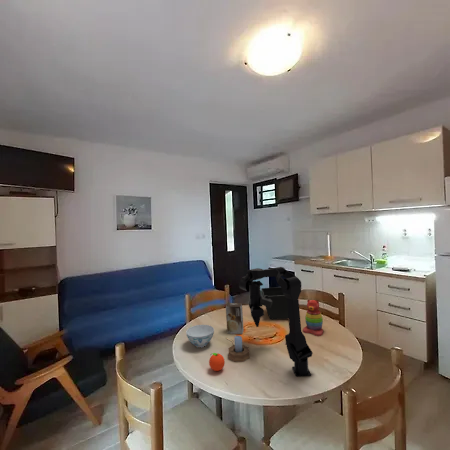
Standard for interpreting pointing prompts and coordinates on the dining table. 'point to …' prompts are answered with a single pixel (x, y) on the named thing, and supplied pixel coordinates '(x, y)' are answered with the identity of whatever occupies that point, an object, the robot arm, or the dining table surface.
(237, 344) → the tapered blue cylinder
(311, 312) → the stacking bear
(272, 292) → the black bin
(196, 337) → the chinaware
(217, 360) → the clementine
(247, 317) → the dining table surface
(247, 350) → the bead
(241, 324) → the coffee box
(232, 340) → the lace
